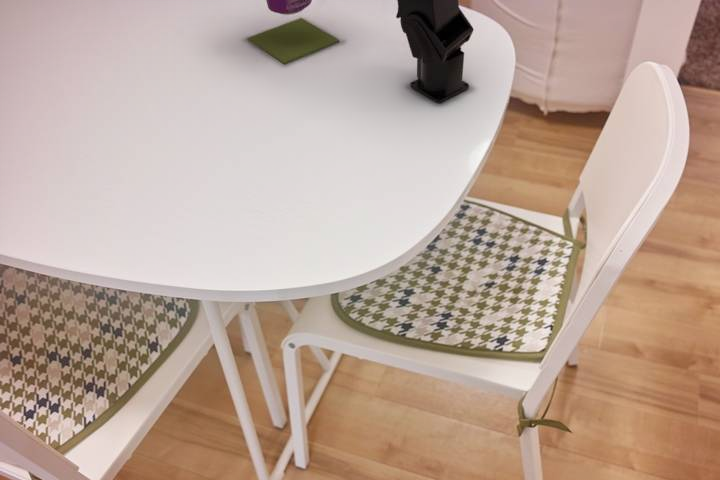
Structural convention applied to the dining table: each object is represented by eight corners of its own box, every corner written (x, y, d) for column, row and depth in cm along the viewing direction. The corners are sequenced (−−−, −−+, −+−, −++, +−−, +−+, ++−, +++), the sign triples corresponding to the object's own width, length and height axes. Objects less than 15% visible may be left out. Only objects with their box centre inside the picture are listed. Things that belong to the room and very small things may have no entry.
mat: (339, 42, 102) (339, 39, 102) (284, 64, 97) (284, 62, 97) (301, 20, 108) (301, 17, 107) (247, 40, 103) (247, 37, 102)
